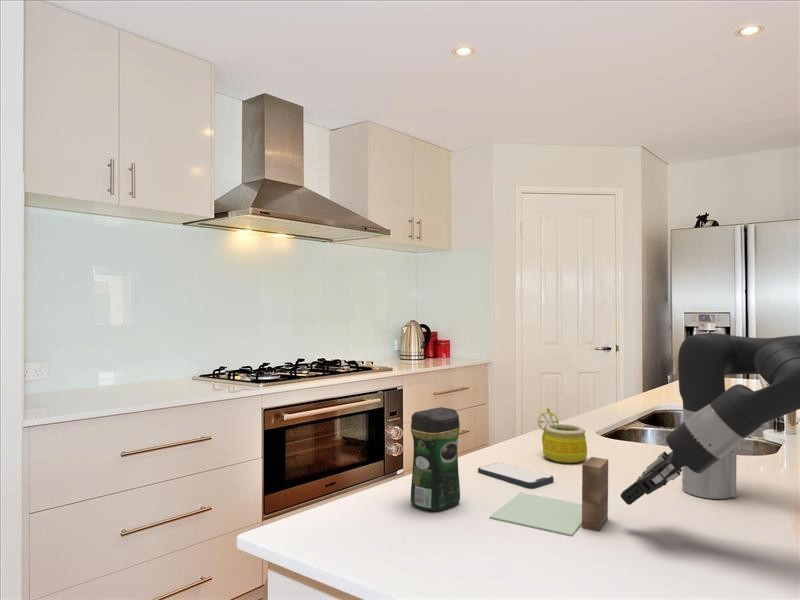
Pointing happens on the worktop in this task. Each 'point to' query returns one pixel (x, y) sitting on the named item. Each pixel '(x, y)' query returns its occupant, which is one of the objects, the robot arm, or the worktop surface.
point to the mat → (541, 513)
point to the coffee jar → (435, 459)
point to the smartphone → (516, 475)
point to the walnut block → (594, 493)
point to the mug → (563, 441)
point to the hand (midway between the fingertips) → (624, 499)
